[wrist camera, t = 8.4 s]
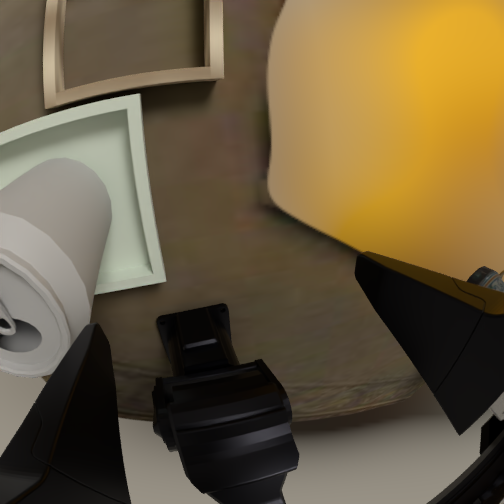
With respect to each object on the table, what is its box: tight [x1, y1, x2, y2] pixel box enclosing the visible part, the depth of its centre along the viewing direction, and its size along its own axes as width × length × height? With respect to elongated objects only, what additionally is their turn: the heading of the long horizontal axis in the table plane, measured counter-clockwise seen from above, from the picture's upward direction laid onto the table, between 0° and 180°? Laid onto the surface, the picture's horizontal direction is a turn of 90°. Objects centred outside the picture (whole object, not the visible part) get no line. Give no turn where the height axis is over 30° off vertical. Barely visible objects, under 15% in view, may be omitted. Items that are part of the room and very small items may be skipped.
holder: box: [43, 0, 224, 109], centre depth 11 cm, size 11×11×2 cm
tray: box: [0, 93, 166, 295], centre depth 16 cm, size 13×13×2 cm
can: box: [0, 157, 112, 378], centre depth 12 cm, size 8×8×12 cm
